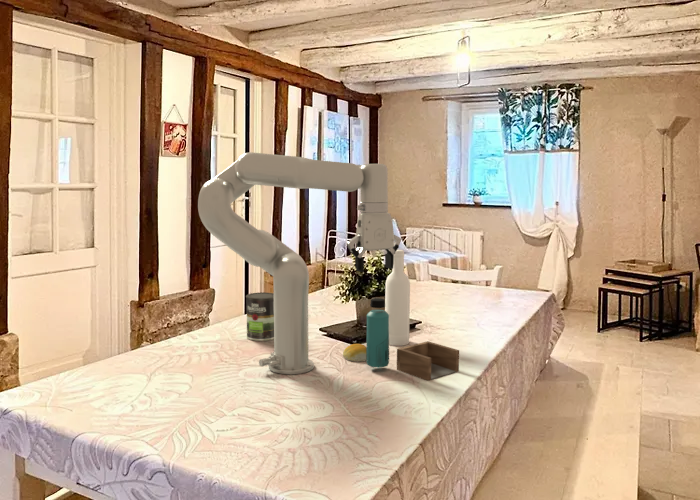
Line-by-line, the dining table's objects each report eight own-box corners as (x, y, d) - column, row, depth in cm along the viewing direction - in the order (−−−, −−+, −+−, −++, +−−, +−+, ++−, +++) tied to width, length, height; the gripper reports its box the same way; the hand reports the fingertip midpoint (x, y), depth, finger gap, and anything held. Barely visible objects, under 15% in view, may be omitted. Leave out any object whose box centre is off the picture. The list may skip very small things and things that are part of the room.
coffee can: (269, 342, 202) (269, 299, 200) (240, 339, 205) (240, 297, 203) (283, 334, 211) (282, 293, 210) (255, 331, 215) (255, 291, 213)
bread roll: (366, 352, 192) (366, 339, 191) (374, 361, 183) (374, 348, 183) (340, 354, 190) (340, 341, 189) (346, 363, 181) (346, 349, 181)
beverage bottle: (387, 373, 172) (388, 301, 169) (363, 372, 173) (364, 300, 170) (390, 366, 178) (391, 297, 175) (367, 364, 179) (368, 296, 177)
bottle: (380, 343, 201) (381, 250, 197) (390, 338, 207) (391, 248, 204) (403, 347, 197) (405, 252, 193) (413, 341, 204) (414, 249, 200)
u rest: (427, 380, 166) (428, 358, 165) (396, 369, 175) (397, 348, 174) (458, 371, 174) (459, 350, 173) (427, 361, 183) (427, 341, 182)
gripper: (354, 210, 166) (355, 274, 168) (407, 208, 175) (407, 268, 177) (340, 209, 173) (341, 270, 175) (392, 206, 181) (392, 265, 184)
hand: (374, 269), depth 176 cm, fingers open, 9 cm apart
